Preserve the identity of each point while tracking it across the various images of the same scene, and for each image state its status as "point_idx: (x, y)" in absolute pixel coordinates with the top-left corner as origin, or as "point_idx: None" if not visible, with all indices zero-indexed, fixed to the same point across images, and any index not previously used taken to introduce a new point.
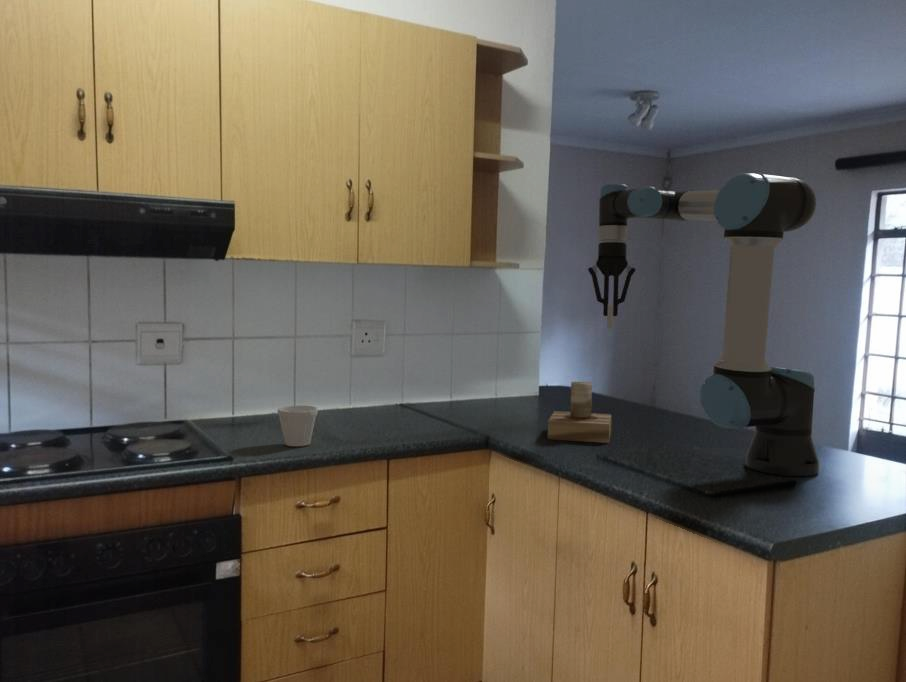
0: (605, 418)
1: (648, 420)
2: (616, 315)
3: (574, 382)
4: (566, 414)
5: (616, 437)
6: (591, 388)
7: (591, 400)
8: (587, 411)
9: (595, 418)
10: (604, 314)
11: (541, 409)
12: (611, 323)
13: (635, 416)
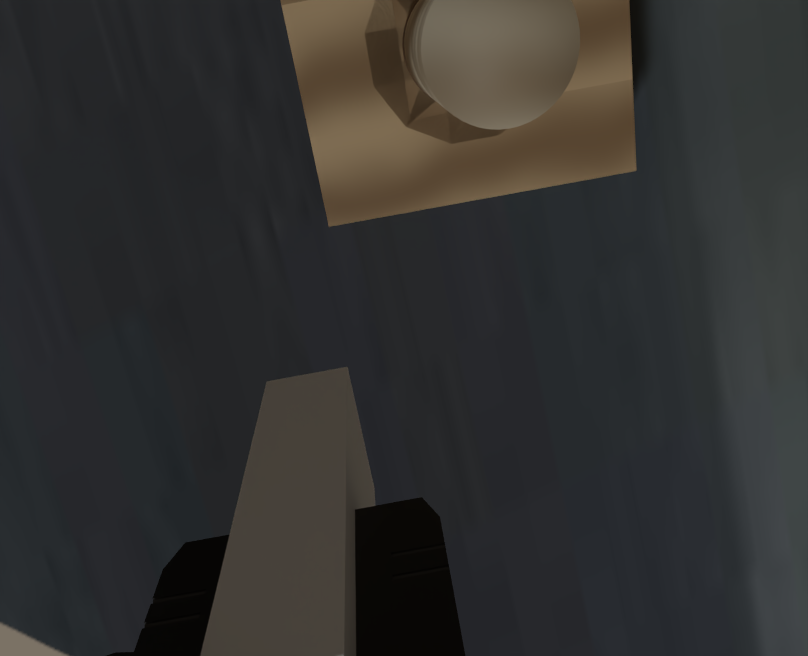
0: (326, 79)
1: None
2: (185, 552)
3: (557, 48)
4: None
5: (273, 83)
6: (418, 40)
7: (411, 51)
8: (419, 2)
9: (377, 49)
10: (415, 514)
11: (728, 548)
12: (277, 413)
13: None
